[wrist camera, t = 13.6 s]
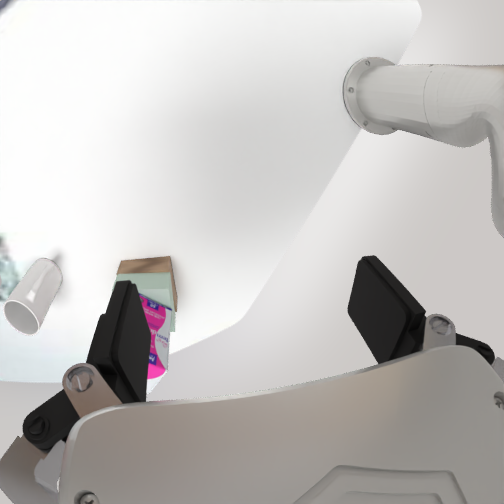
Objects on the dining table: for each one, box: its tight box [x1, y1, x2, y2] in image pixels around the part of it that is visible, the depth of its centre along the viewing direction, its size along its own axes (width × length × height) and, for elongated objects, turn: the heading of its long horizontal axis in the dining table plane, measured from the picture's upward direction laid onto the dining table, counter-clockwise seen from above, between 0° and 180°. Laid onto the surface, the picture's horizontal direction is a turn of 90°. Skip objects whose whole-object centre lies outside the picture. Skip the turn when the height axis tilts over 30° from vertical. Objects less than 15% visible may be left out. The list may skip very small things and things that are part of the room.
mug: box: [3, 258, 62, 336], centre depth 35 cm, size 10×7×12 cm, turn 132°
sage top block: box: [112, 272, 175, 332], centre depth 40 cm, size 8×8×4 cm
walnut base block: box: [117, 256, 177, 312], centre depth 43 cm, size 8×8×4 cm
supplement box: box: [139, 293, 172, 393], centre depth 33 cm, size 6×6×12 cm
